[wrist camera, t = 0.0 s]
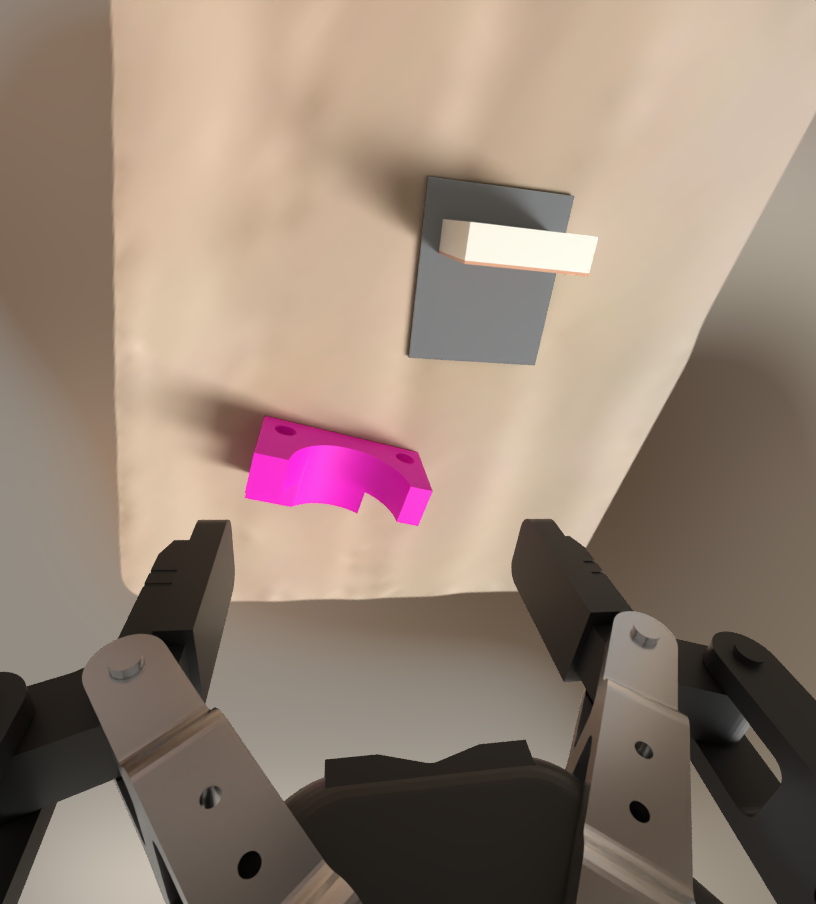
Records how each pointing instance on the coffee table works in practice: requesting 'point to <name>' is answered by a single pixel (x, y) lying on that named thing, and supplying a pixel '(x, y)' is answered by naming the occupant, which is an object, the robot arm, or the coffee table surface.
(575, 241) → the tile
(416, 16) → the coffee table surface
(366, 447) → the magenta pipe clamp half
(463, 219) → the mat
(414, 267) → the coffee table surface
